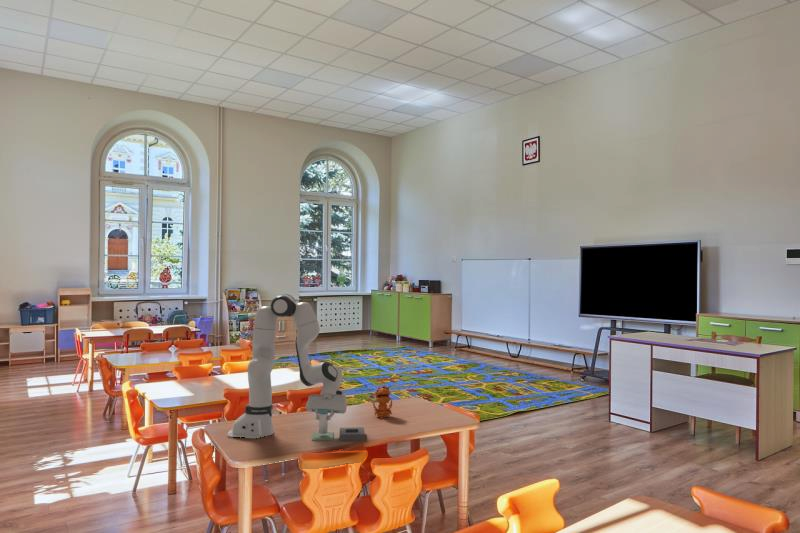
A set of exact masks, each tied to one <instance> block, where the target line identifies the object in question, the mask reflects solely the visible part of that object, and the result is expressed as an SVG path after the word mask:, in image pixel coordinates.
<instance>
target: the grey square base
mask: <svg viewBox="0 0 800 533" xmlns="http://www.w3.org/2000/svg"><path fill="white" fill-rule="evenodd" d="M365 435H366V433H365V427H362V426H361V427H356V426H355V427H354V426H353V427H339V439H338V440H339V442H349V441H350V442H359V441H365V439H366V438H365V437H366V436H365Z"/></svg>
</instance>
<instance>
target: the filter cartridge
mask: <svg viewBox="0 0 800 533" xmlns="http://www.w3.org/2000/svg"><path fill="white" fill-rule="evenodd" d="M318 415H319V420H318V432H319V433H320V434H326V433H327V432H328V421H329V420H327V416H328V415H329V413H328V409H320V410H319V414H318Z"/></svg>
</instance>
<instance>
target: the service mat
mask: <svg viewBox="0 0 800 533" xmlns="http://www.w3.org/2000/svg"><path fill="white" fill-rule="evenodd" d="M334 435H335V434H334V431H330V432H329V431H327V433H326V434H320V433H319V431H317V432H315V431H314V432H313V434H312V438H311V441H313V442H314V441H315V442H317V441H319V442H320V441H322V442H323V441H324V442H325V441H327V442H328V441H334Z"/></svg>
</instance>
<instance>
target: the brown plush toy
mask: <svg viewBox="0 0 800 533" xmlns="http://www.w3.org/2000/svg"><path fill="white" fill-rule="evenodd" d="M390 390H391V389H390V386H386V385H382V386H381V387H380V386H378V387H377V389H376V391H375V392H374V396H375V400H372V406H373V409H374V415H375V416H377V418H378V417H387V418H388V417H390V416H391V415H393V413H392V410H391V409H392V407H393V400H392V399H391V396H390V395H391V393H392V392H391V391H390ZM375 401H376V402H377V403H378V406H377V407H376V405H375ZM388 403H390V404H389V405H388Z"/></svg>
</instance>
